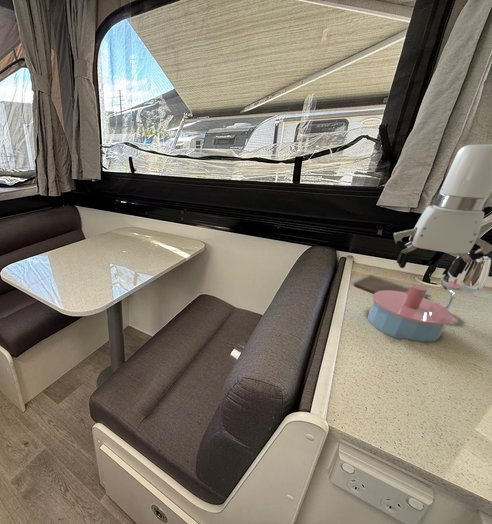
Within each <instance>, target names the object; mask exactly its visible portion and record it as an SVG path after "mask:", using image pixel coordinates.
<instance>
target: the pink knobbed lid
mask: <svg viewBox="0 0 492 524" xmlns="http://www.w3.org/2000/svg"><path fill="white" fill-rule="evenodd" d="M408 289H409V290H408V292H407V293H405V292H399V291H390V290H384V291H378V292H376V293H373V296H372V300H373V301H375V303H376V304H377V305H379V306H380V307H381V308H383V309H385V310H386V311H388V312H390V313H392V314H395V315H397V316H400V317H402V318H405V319H408V320H412V321H415V322H420V323H425V324H432V325H444V324H447V325H449V324H450V323H452V321H454V315H453V314H452V313H451V311H450V310H449V309H448V310H447V309H446V308H445V307H444V306H443V305H441V304H439V303H437V302H436V301H433V300H430V299H428V298H424V296H425V295H426V294H427V291H428V288H427V287H425V286H423V285H420V284H414V283H413V284H410V286H409V287H408Z"/></svg>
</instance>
